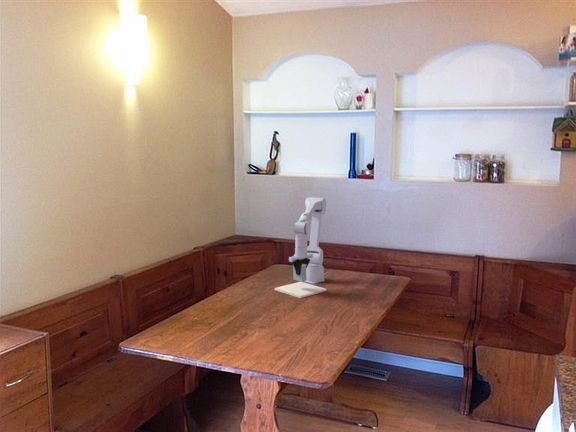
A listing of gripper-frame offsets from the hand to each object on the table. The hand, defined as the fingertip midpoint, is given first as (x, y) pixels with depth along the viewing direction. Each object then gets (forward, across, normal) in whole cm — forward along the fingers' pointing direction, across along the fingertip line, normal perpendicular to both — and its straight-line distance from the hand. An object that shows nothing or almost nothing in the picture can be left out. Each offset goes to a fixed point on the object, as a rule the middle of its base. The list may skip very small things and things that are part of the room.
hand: (300, 274), depth 256 cm
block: (+3, 0, 0) cm, 3 cm away
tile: (+9, -1, -1) cm, 9 cm away
